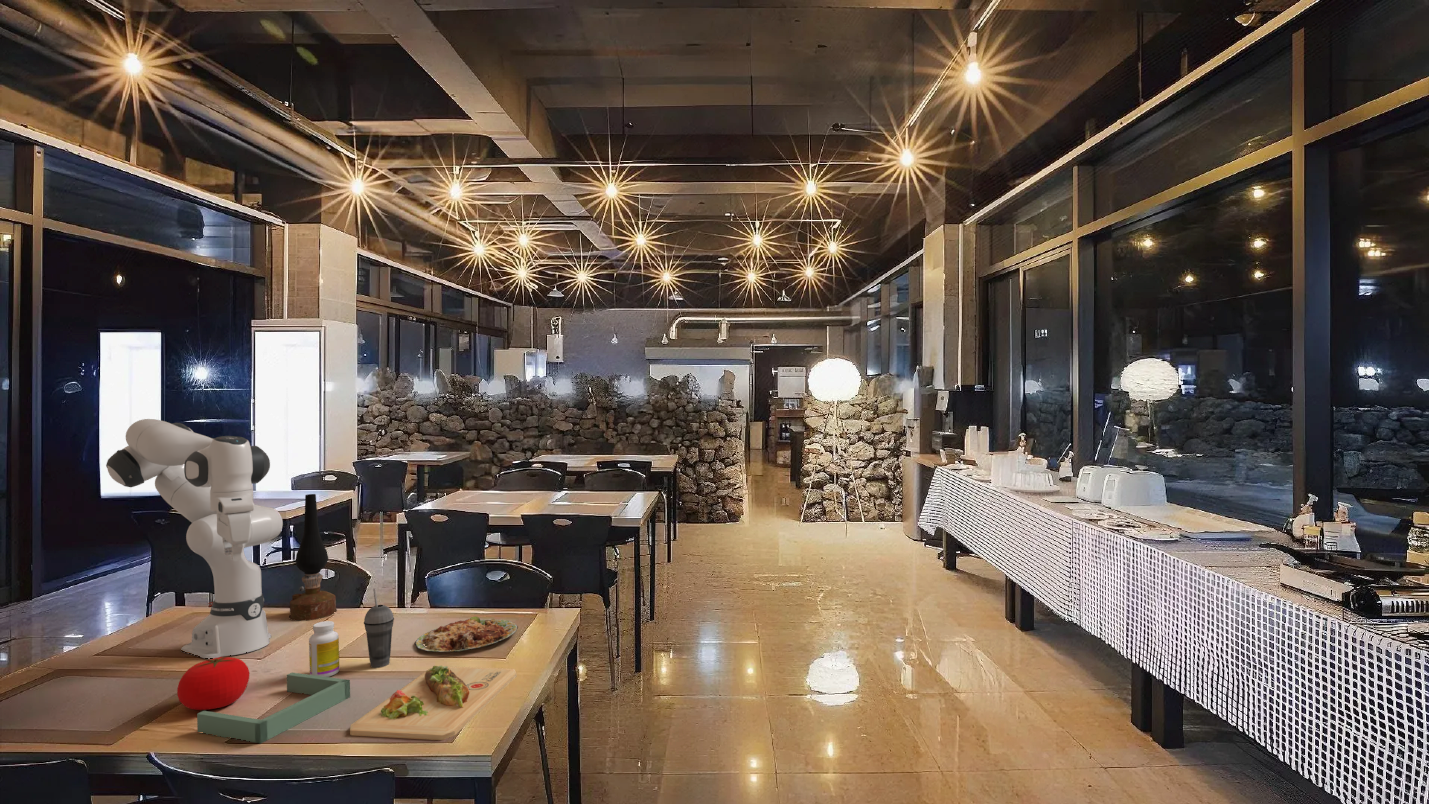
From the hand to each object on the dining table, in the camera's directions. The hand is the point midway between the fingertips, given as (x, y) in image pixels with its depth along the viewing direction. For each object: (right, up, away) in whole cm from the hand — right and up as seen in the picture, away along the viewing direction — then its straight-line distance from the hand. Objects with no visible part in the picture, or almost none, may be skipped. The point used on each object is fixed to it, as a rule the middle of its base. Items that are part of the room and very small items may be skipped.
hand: (232, 557), depth 176 cm
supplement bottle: (+20, -31, +4) cm, 37 cm away
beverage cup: (+32, -31, +10) cm, 45 cm away
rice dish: (+48, -31, +29) cm, 64 cm away
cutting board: (+57, -31, -13) cm, 66 cm away
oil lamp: (-12, -31, +55) cm, 65 cm away
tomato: (+5, -31, -13) cm, 34 cm away
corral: (+22, -31, -18) cm, 42 cm away
